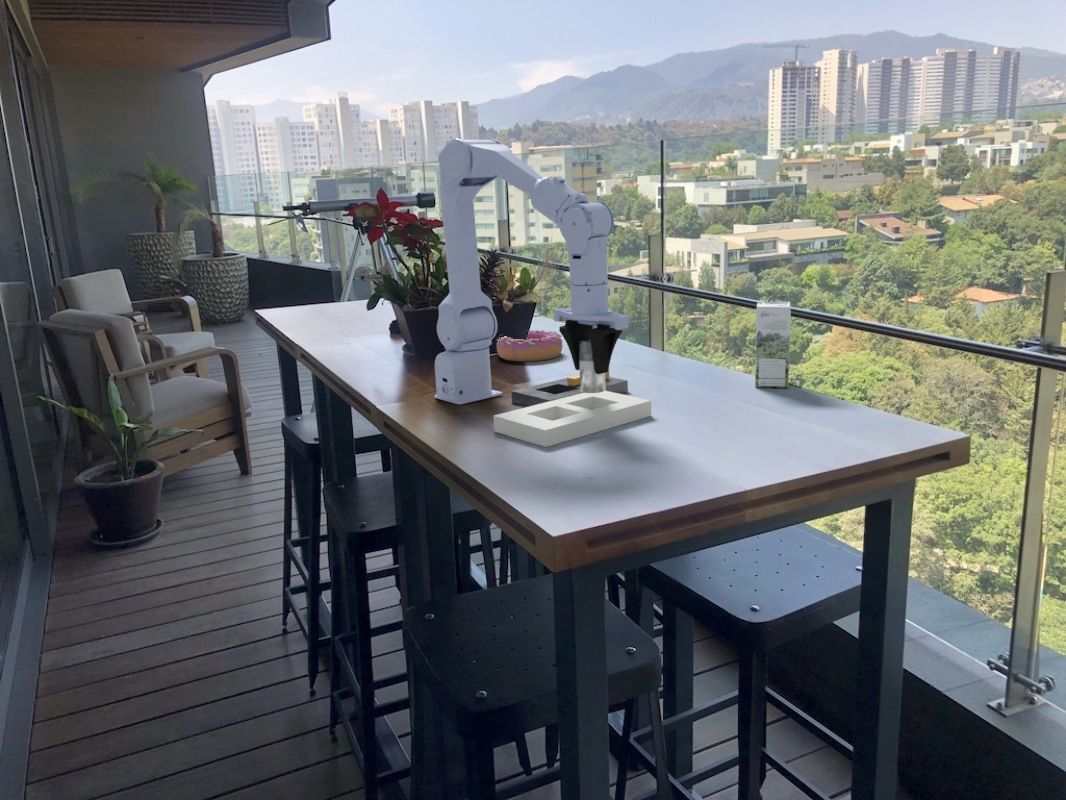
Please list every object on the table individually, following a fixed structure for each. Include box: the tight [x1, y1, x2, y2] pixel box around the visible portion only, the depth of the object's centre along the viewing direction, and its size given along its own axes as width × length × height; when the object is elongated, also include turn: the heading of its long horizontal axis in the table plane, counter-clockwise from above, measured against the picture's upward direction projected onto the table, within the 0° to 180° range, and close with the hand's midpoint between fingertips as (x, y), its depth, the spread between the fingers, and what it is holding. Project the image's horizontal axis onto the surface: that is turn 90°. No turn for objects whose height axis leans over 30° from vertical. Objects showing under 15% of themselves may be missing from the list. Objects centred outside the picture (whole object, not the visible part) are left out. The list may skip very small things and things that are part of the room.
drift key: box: [566, 368, 610, 386], centre depth 153 cm, size 8×3×2 cm, turn 130°
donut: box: [496, 329, 563, 363], centre depth 188 cm, size 14×14×5 cm
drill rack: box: [493, 391, 652, 448], centre depth 134 cm, size 22×12×2 cm, turn 130°
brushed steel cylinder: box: [579, 338, 606, 393], centre depth 135 cm, size 4×4×8 cm
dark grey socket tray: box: [511, 376, 629, 407], centre depth 151 cm, size 18×10×2 cm, turn 130°
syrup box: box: [754, 301, 792, 389], centre depth 151 cm, size 6×6×14 cm
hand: (591, 370), depth 135 cm, fingers closed on brushed steel cylinder, 4 cm apart
